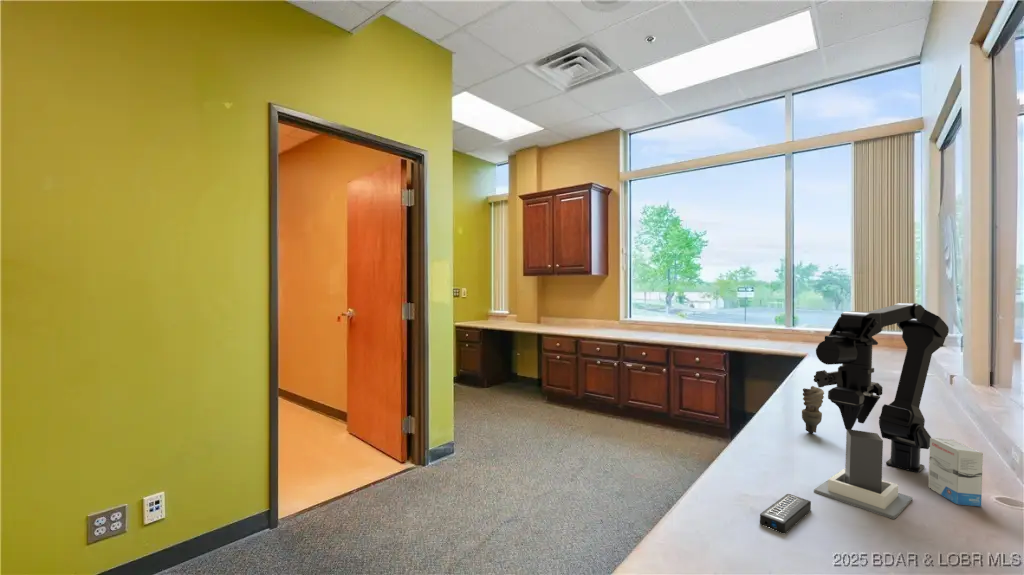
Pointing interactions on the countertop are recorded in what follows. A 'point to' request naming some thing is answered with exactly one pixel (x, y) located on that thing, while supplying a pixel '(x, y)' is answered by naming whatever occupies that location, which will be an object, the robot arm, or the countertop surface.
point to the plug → (864, 460)
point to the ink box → (955, 471)
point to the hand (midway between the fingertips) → (854, 426)
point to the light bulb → (812, 408)
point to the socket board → (865, 496)
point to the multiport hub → (785, 513)
